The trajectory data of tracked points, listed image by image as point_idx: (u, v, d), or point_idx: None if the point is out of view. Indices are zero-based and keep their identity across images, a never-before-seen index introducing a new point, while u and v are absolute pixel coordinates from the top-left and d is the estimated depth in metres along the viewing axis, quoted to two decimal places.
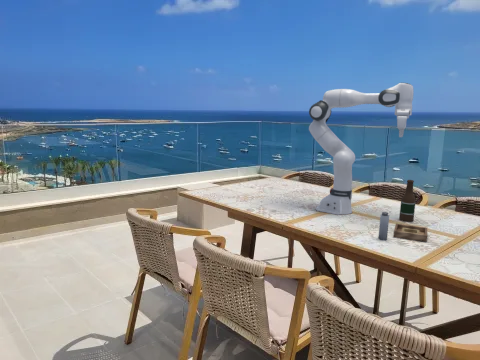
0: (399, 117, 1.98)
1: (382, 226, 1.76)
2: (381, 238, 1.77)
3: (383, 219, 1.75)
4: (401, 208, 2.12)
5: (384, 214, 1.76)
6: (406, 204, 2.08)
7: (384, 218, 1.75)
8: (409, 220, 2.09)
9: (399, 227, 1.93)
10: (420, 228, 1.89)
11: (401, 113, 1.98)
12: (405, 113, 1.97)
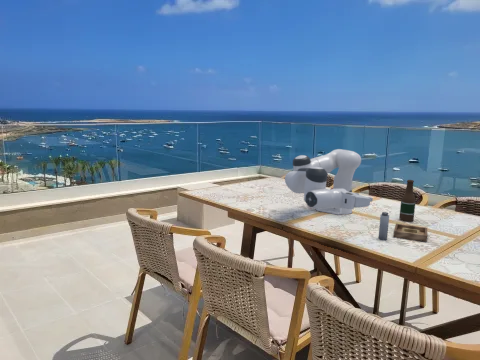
0: (357, 205, 1.59)
1: (382, 226, 1.76)
2: (381, 238, 1.77)
3: (383, 219, 1.75)
4: (401, 208, 2.12)
5: (384, 214, 1.76)
6: (406, 204, 2.08)
7: (384, 218, 1.75)
8: (409, 220, 2.09)
9: (399, 227, 1.93)
10: (420, 228, 1.89)
11: (353, 203, 1.58)
12: (353, 199, 1.58)
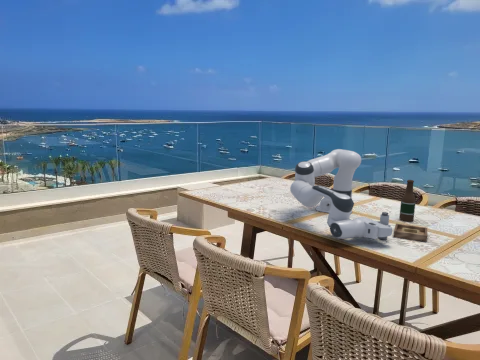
0: (380, 235, 1.66)
1: None
2: (381, 238, 1.77)
3: (383, 219, 1.75)
4: (401, 208, 2.12)
5: (384, 214, 1.76)
6: (406, 204, 2.08)
7: (384, 218, 1.75)
8: (409, 220, 2.09)
9: (399, 227, 1.93)
10: (420, 228, 1.89)
11: (376, 233, 1.65)
12: (376, 229, 1.65)
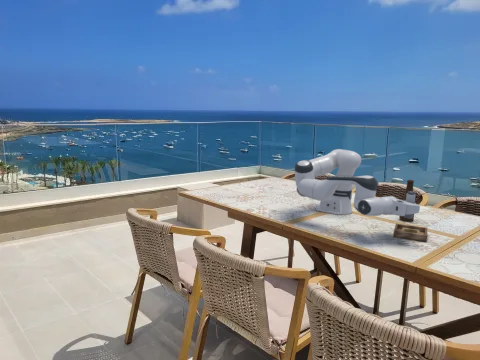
0: (408, 212, 1.69)
1: None
2: (407, 217, 1.80)
3: (410, 198, 1.78)
4: None
5: (410, 193, 1.79)
6: None
7: (410, 197, 1.78)
8: (409, 220, 2.09)
9: (399, 227, 1.93)
10: (420, 228, 1.89)
11: (404, 210, 1.68)
12: (404, 206, 1.68)
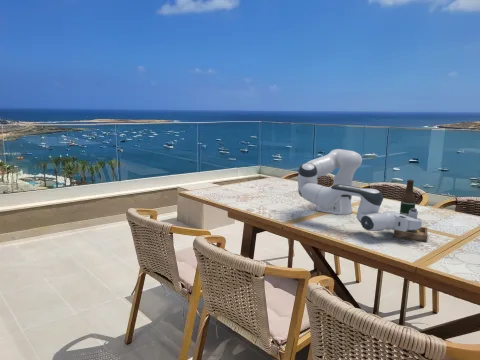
0: (411, 227, 1.72)
1: None
2: None
3: (412, 215, 1.81)
4: (401, 208, 2.12)
5: (413, 210, 1.81)
6: (406, 204, 2.08)
7: (413, 214, 1.81)
8: None
9: None
10: (420, 228, 1.89)
11: (406, 226, 1.71)
12: (407, 222, 1.71)
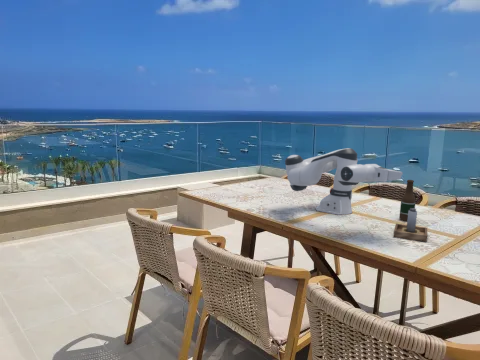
0: (390, 178, 1.71)
1: (410, 221, 1.82)
2: None
3: (412, 215, 1.81)
4: (401, 208, 2.12)
5: (412, 210, 1.82)
6: (406, 204, 2.08)
7: (412, 214, 1.81)
8: None
9: (399, 227, 1.93)
10: (420, 228, 1.89)
11: (386, 176, 1.70)
12: (386, 172, 1.70)
